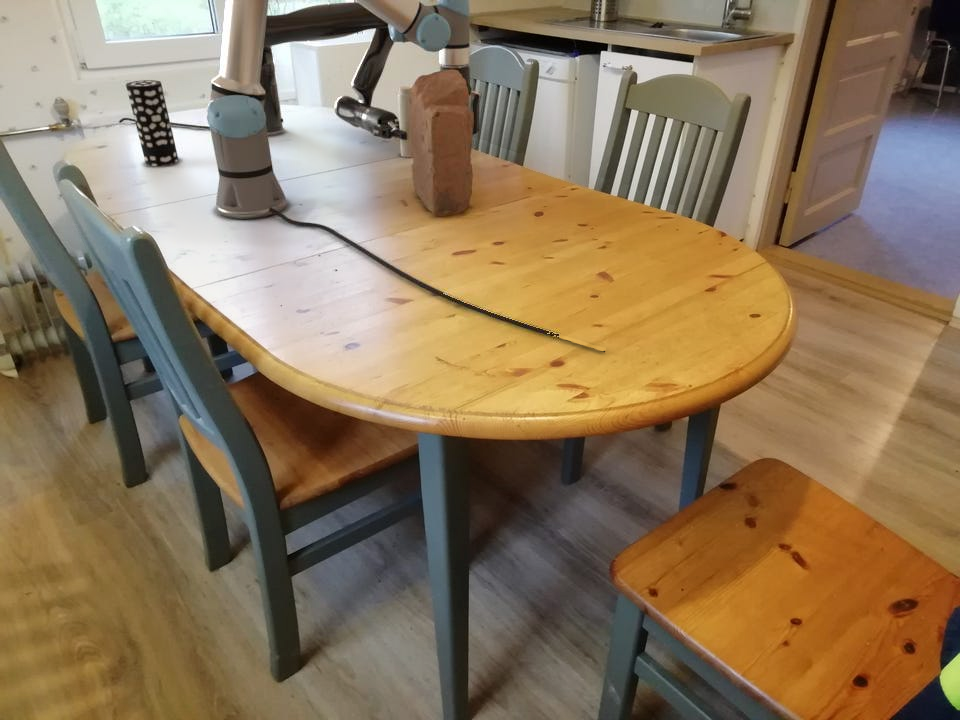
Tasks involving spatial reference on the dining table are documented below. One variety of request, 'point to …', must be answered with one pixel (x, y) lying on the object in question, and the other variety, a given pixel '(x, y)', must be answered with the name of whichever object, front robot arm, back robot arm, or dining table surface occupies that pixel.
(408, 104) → the white cylinder
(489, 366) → the dining table surface
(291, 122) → the dining table surface
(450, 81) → the stone
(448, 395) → the dining table surface
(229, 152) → the front robot arm
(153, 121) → the black spotted cylinder
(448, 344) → the dining table surface
